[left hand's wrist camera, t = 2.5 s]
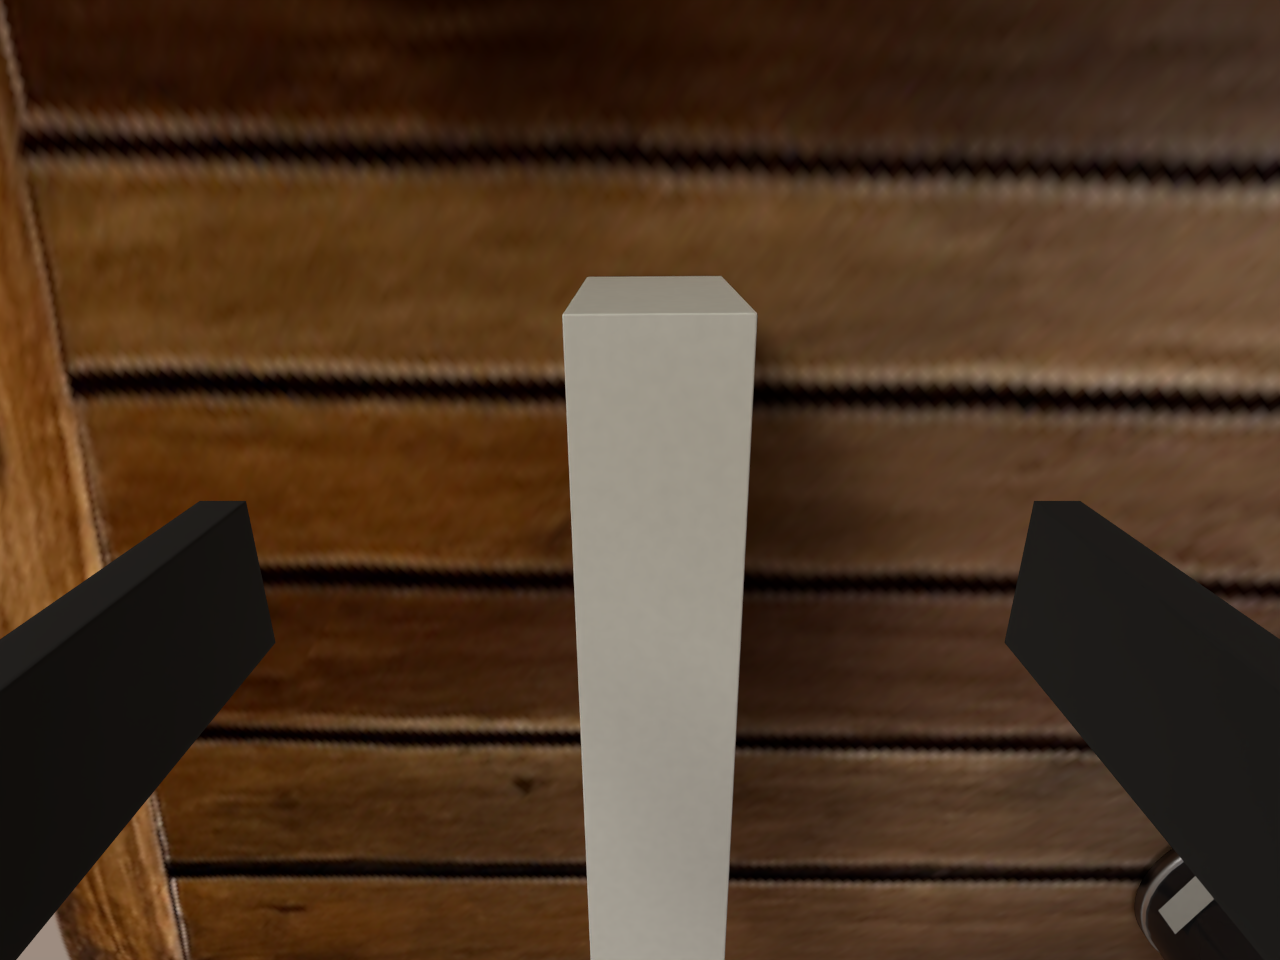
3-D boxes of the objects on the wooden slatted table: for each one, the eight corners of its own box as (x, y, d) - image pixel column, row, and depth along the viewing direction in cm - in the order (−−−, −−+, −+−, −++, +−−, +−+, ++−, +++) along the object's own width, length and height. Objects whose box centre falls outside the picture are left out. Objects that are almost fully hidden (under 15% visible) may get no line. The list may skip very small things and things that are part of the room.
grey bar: (586, 276, 27) (562, 313, 19) (722, 276, 27) (757, 312, 19) (602, 784, 36) (590, 964, 28) (705, 784, 36) (724, 964, 27)
